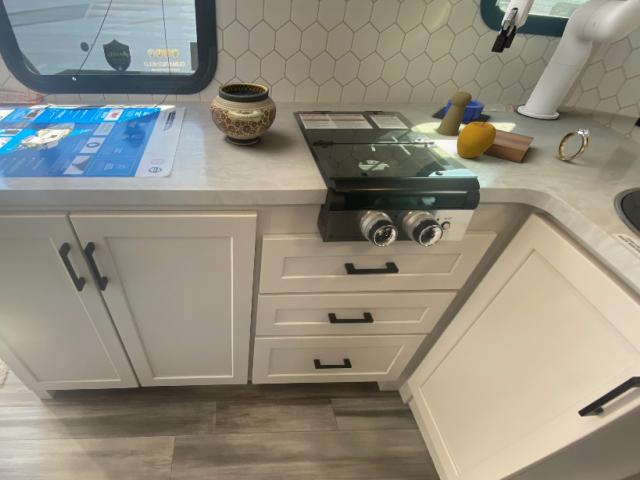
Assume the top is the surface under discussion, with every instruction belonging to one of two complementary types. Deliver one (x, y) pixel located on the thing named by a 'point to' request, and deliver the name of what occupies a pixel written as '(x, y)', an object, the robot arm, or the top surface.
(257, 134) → the floral ceramic pot
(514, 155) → the platform
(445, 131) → the tan pawn figure
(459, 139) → the apple
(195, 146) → the top surface
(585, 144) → the ring
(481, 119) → the mat
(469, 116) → the ring
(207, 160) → the top surface
